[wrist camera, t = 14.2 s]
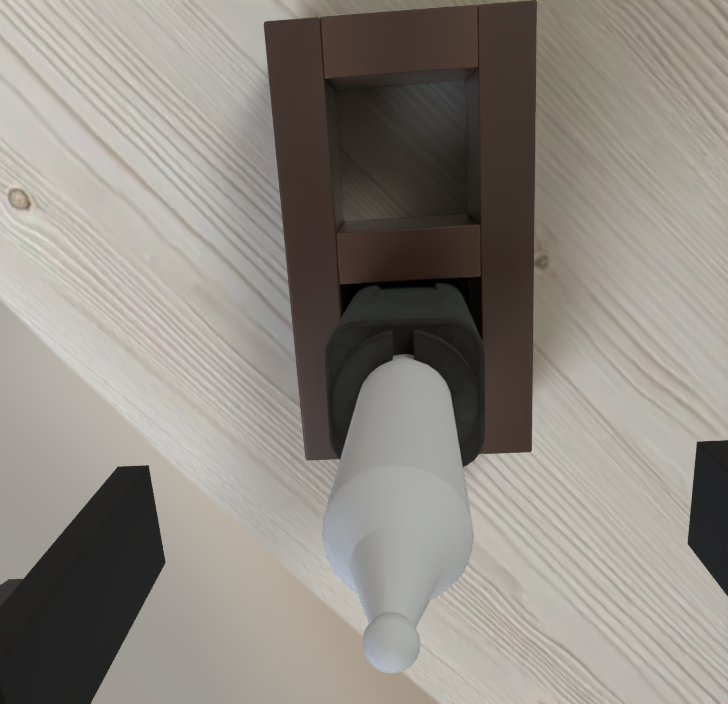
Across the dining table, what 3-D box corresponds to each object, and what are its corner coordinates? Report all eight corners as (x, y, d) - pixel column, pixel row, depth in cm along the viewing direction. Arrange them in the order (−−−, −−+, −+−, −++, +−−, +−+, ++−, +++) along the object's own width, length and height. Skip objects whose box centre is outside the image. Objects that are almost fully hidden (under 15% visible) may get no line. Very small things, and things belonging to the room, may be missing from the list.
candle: (361, 371, 34) (230, 802, 10) (357, 273, 33) (195, 497, 9) (460, 368, 34) (569, 815, 10) (459, 269, 33) (580, 495, 9)
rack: (317, 419, 36) (305, 461, 31) (283, 41, 30) (263, 21, 25) (512, 411, 35) (531, 452, 30) (513, 24, 30) (537, -1, 25)
